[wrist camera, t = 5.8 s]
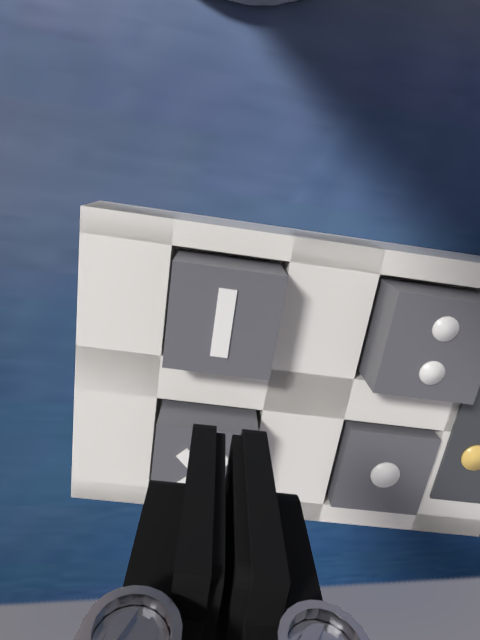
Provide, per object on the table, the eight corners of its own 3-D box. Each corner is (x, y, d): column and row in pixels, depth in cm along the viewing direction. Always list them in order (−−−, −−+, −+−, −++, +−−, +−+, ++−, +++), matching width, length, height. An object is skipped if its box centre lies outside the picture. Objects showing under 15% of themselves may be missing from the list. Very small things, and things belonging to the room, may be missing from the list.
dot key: (337, 402, 26) (351, 430, 23) (418, 411, 27) (442, 441, 24) (320, 472, 28) (331, 508, 25) (397, 480, 28) (417, 516, 25)
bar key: (179, 248, 22) (172, 260, 19) (280, 262, 22) (288, 276, 19) (169, 343, 23) (161, 368, 20) (264, 355, 24) (269, 381, 21)
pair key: (377, 276, 22) (400, 292, 20) (472, 289, 23) (508, 307, 20) (355, 366, 24) (373, 393, 21) (444, 377, 24) (474, 405, 21)
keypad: (101, 200, 23) (78, 206, 20) (533, 263, 25) (584, 278, 22) (89, 458, 28) (69, 500, 25) (450, 496, 30) (481, 540, 26)
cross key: (164, 394, 24) (155, 425, 21) (255, 405, 25) (259, 436, 22) (156, 471, 26) (147, 510, 23) (242, 480, 26) (244, 519, 23)
